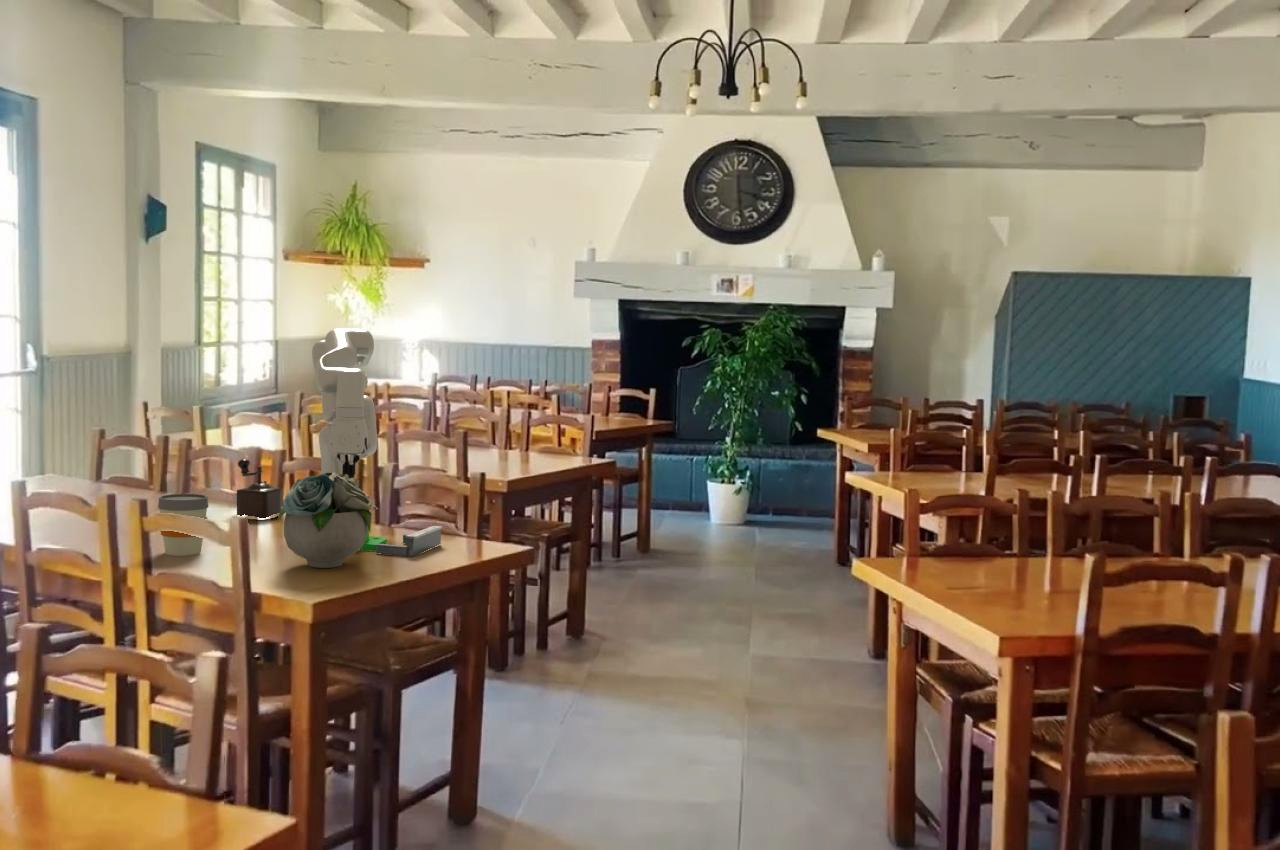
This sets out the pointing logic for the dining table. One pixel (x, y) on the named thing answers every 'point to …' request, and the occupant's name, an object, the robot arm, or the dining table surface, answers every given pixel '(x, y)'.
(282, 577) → the dining table surface
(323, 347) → the robot arm
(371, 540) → the mechanical part
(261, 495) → the manual coffee grinder
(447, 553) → the dining table surface
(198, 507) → the reusable coffee cup
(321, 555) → the flower arrangement
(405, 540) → the steel bracket
